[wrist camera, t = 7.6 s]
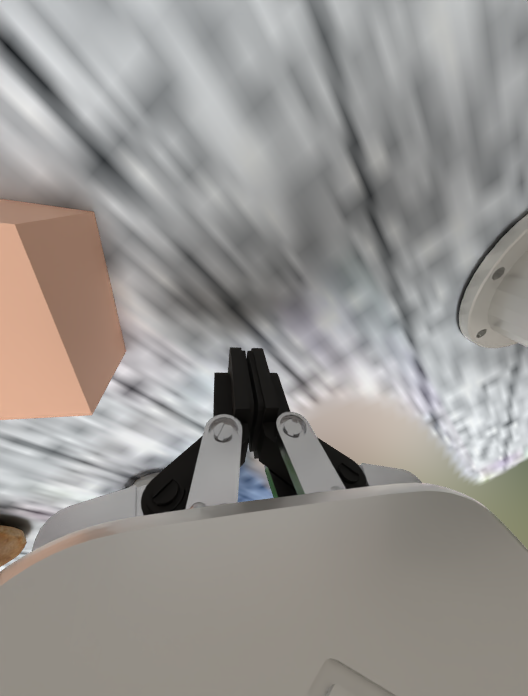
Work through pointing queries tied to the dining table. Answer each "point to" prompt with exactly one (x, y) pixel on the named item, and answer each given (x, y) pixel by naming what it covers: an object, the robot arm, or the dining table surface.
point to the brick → (54, 313)
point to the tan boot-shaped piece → (10, 543)
